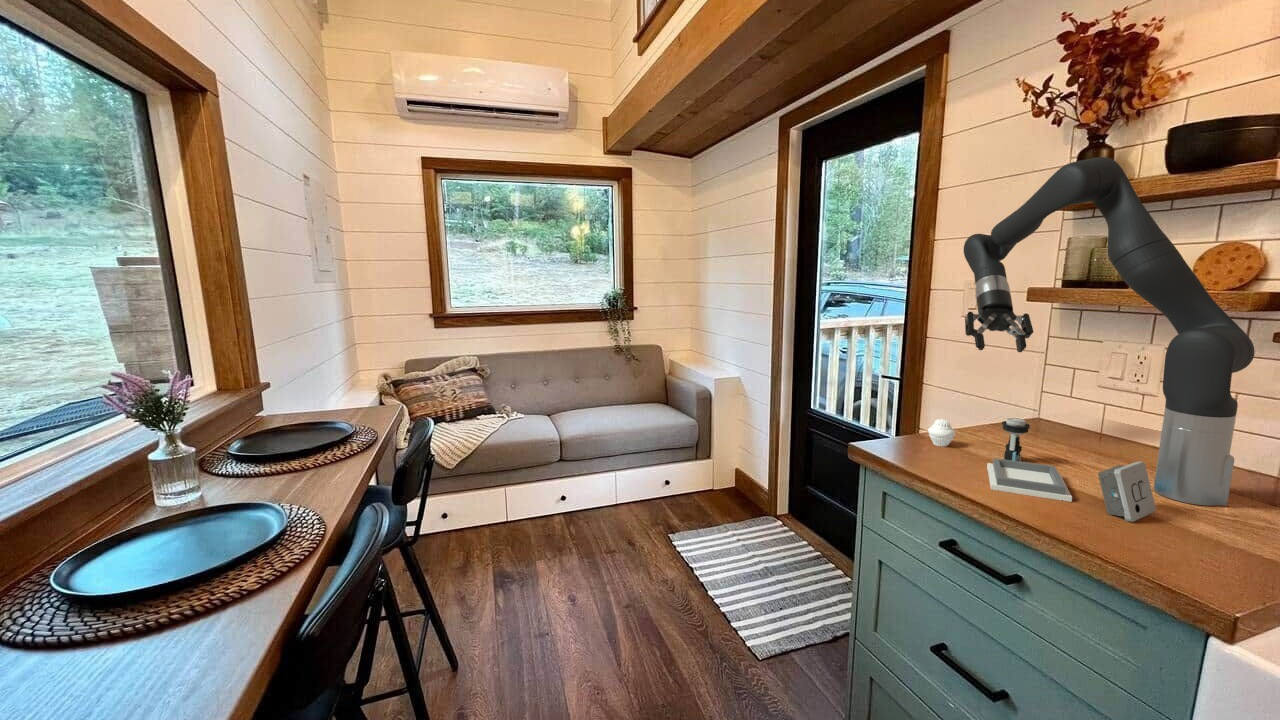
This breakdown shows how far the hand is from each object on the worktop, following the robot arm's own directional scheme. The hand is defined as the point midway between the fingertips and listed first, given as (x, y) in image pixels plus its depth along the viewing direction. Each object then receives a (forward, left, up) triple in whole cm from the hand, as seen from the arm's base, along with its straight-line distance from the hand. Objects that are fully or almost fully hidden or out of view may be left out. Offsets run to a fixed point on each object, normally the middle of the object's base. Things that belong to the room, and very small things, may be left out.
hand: (1001, 349), depth 128 cm
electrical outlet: (-18, +33, -25) cm, 45 cm away
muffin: (+12, +5, -25) cm, 28 cm away
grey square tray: (-4, +25, -25) cm, 36 cm away
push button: (-3, +10, -25) cm, 27 cm away
